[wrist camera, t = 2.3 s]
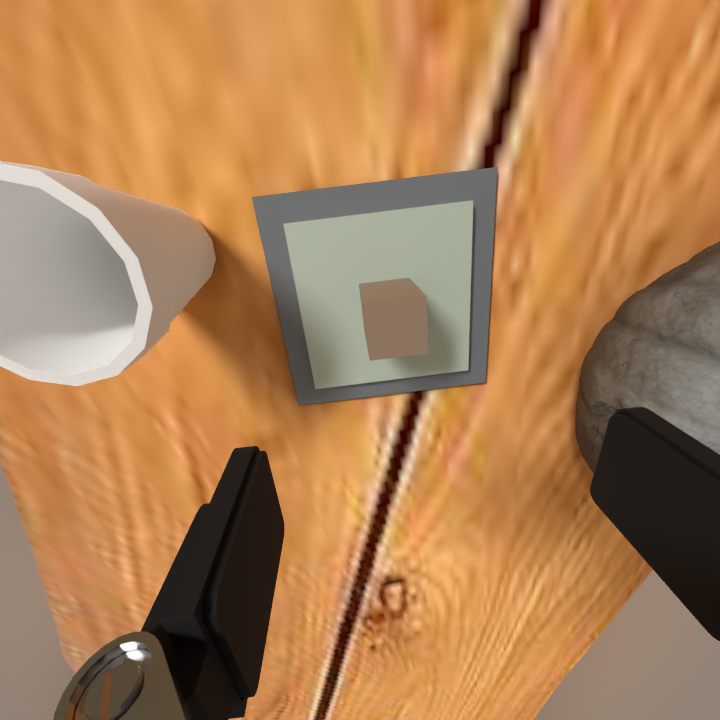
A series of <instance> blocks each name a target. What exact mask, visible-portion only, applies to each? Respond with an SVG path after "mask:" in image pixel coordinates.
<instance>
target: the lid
mask: <svg viewBox="0 0 720 720" xmlns="http://www.w3.org/2000/svg"><path fill="white" fill-rule="evenodd" d="M283 225H284V230H285V235H286V241H287V246H288V251H289V256H290V261H291V266H292V271H293V277H294V282H295V287H296V292H297V297H298V302H299V307H300V312H301V318H302V323H303V328H304V333H305V338H306V343H307V348H308V354H309V359H310V364H311V369H312V374H313V379H314V384H315V389H322V388H330V387H338V386H346V385H354V384H362V383H370V382H378V381H386V380H394V379H402V378H410V377H418V376H426V375H435V374H443V373H451V372H459V371H467V370H468V364H469V330H470V296H471V263H472V229H473V201H463V202H455V203H447V204H439V205H430V206H422V207H414V208H406V209H398V210H390V211H382V212H374V213H366V214H358V215H350V216H341V217H333V218H325V219H317V220H309V221H301V222H293V223H285V224H283Z"/></svg>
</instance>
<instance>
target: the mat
mask: <svg viewBox="0 0 720 720" xmlns="http://www.w3.org/2000/svg"><path fill="white" fill-rule="evenodd" d="M497 168H498V167H493V168H485V169H477V170H469V171H461V172H453V173H445V174H437V175H429V176H421V177H413V178H404V179H396V180H388V181H380V182H372V183H364V184H356V185H348V186H340V187H332V188H323V189H315V190H307V191H299V192H291V193H283V194H275V195H267V196H259V197H252V200H253V204H254V209H255V213H256V218H257V222H258V226H259V231H260V235H261V240H262V244H263V249H264V253H265V258H266V262H267V266H268V271H269V275H270V280H271V284H272V289H273V293H274V298H275V302H276V307H277V311H278V315H279V320H280V324H281V329H282V333H283V338H284V342H285V347H286V351H287V356H288V360H289V364H290V369H291V373H292V378H293V382H294V387H295V391H296V396H297V400H298V405H299V406H301V405H309V404H317V403H325V402H333V401H341V400H349V399H357V398H365V397H373V396H381V395H389V394H397V393H405V392H414V391H422V390H430V389H438V388H446V387H454V386H462V385H470V384H478V383H486V366H487V348H488V330H489V312H490V294H491V276H492V258H493V240H494V222H495V204H496V186H497ZM463 201H473V229H472V263H471V296H470V330H469V364H468V370H467V371H459V372H451V373H443V374H435V375H426V376H418V377H410V378H402V379H394V380H386V381H378V382H370V383H362V384H354V385H346V386H338V387H330V388H322V389H315V384H314V379H313V374H312V369H311V364H310V359H309V354H308V348H307V343H306V338H305V333H304V328H303V323H302V318H301V312H300V307H299V302H298V297H297V292H296V287H295V282H294V277H293V271H292V266H291V261H290V256H289V251H288V246H287V241H286V235H285V230H284V225H283V224H285V223H293V222H301V221H309V220H317V219H325V218H333V217H341V216H350V215H358V214H366V213H374V212H382V211H390V210H398V209H406V208H414V207H422V206H430V205H439V204H447V203H455V202H463Z"/></svg>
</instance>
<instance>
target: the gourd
mask: <svg viewBox="0 0 720 720" xmlns="http://www.w3.org/2000/svg"><path fill="white" fill-rule="evenodd" d="M580 379H581V388H580V392H579V395H578V401H577V411H576V437H577V441H578V445H579V448H580V450H581V453H582V456H583V457H584V459H585V461H586V462H587V464H588V466H589V467H590V469H591V470H592V472H593V473H595V469H596V466H597V462H598V458H599V455H600V451H601V448H602V444H603V440H604V437H605V433H606V429H607V426H608V422H609V419H610V417H611V416H612V415H614V413H615V412H616V411H617V410H618V409H623V408H633V407H645V408H647V409H649V410H651V411H652V412H654V413H656V414H657V415H659V416H660V417H662V418H663V419H665V420H666V421H668V422H670V423H671V424H673V425H674V426H676V427H677V428H679V429H681V430H682V431H684V432H685V433H687V434H688V435H690V436H691V437H693V438H695V439H696V440H698V441H699V442H701V443H702V444H704V445H705V446H707V447H709V448H710V449H712V450H713V451H715V452H716V453H718V454H719V455H720V242H718V243H716V244H714V245H712V246H710V247H708V248H706V249H704V250H703V251H701V252H699V253H698V254H697V255H695V256H694V257H692V258H691V259H690V260H689V261H688V262H686V263H684V264H682V265H679V266H678V267H676V268H674V269H672V270H670V271H669V272H667V273H665V274H664V275H662V276H661V277H659V278H658V279H656V280H655V281H653V282H652V283H651V284H650V285H648V286H647V287H646V288H645V289H642V290H640V291H638V292H636V293H635V294H633V295H632V296H631V297H629V298H628V299H627V300H626V301H624V302H623V304H622V305H621V306H620V307H619V309H618V310H617V312H616V314H615V317H614V318H613V319H612V320H611V321H610V322H608V323H607V324H606V325H605V326H604V327H603V328H602V330H601V331H600V333H599V334H598V336H597V338H596V339H595V341H594V344H593V346H592V348H591V349H590V350H589V352H588V353H587V355H586V357H585V360H584V363H583V367H582V371H581V378H580Z"/></svg>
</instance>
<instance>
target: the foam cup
mask: <svg viewBox="0 0 720 720" xmlns="http://www.w3.org/2000/svg"><path fill="white" fill-rule="evenodd" d="M215 261H216V256H215V251H214V246H213V241H212V239H211V237H210V236H209V235H208V233H207V232H206V230H205V229H204V227H203V226H202V224H201V223H200V222H199V221H197V220H196V219H194V218H193V217H192V216H190V215H189V214H187V213H186V212H184V211H183V210H180V209H177V208H174V207H170V206H167V205H164V204H160V203H157V202H154V201H150V200H147V199H143V198H140V197H137V196H133V195H130V194H126V193H123V192H120V191H116V190H113V189H109V188H106V187H103V186H99V185H97V184H95V183H94V182H92V181H91V180H89V179H88V178H86V177H85V176H81V175H76V174H71V173H66V172H61V171H56V170H51V169H46V168H41V167H37V166H32V165H25V164H17V163H10V162H3V161H0V366H1V367H3V368H5V369H7V370H10V371H12V372H14V373H16V374H18V375H20V376H22V377H25V378H27V379H29V380H35V381H43V382H50V383H58V384H66V385H73V386H80V385H84V384H87V383H91V382H95V381H98V380H102V379H106V378H109V377H113V376H117V375H119V374H120V373H122V372H123V371H124V370H126V369H127V368H128V367H130V366H131V365H132V364H133V363H135V362H136V361H137V360H139V359H140V358H141V357H143V356H144V355H145V354H146V353H147V352H148V351H149V350H150V349H151V348H152V347H153V346H154V345H155V344H156V343H157V342H158V341H159V340H160V339H161V338H162V337H163V336H164V335H165V334H166V333H167V332H168V331H169V326H170V323H171V321H172V320H173V319H174V318H175V317H176V316H177V315H178V314H179V312H180V311H181V310H182V309H183V308H184V307H185V306H186V305H187V303H188V302H189V301H190V300H191V299H192V298H193V297H194V295H195V294H196V293H197V292H198V291H199V290H200V289H201V288H202V286H203V285H204V284H205V283H206V282H207V281H208V280H209V278H210V277H211V276H212V273H213V269H214V265H215Z"/></svg>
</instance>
